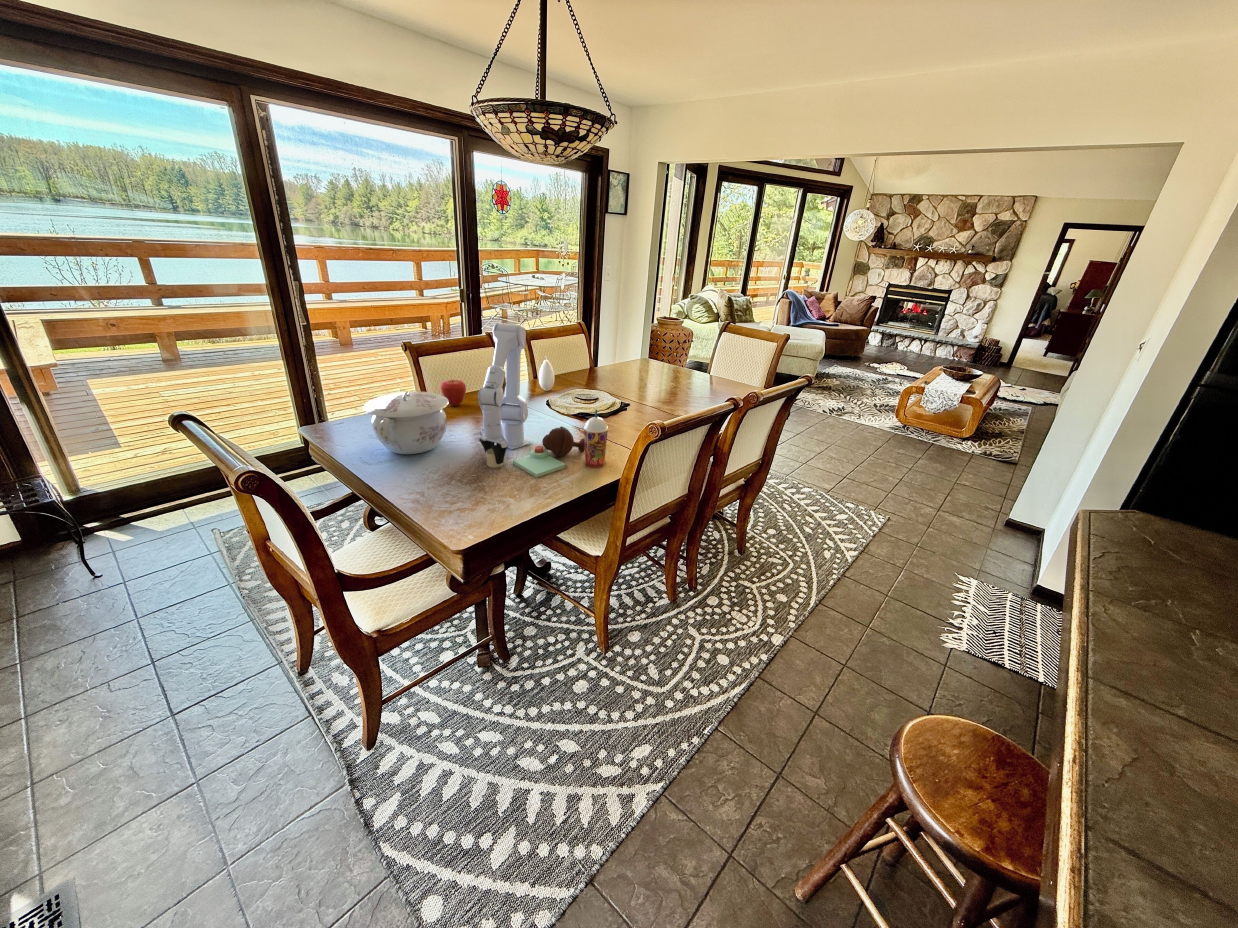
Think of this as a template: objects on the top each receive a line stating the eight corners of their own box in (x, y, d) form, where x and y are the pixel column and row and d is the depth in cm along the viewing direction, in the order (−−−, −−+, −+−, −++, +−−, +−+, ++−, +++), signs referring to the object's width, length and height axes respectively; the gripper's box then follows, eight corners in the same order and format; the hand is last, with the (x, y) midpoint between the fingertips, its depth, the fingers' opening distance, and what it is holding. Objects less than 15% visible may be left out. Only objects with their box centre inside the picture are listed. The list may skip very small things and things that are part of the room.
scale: (511, 463, 166) (511, 455, 165) (541, 453, 174) (541, 446, 173) (536, 477, 157) (536, 469, 156) (566, 467, 165) (566, 459, 164)
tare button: (533, 451, 169) (533, 447, 168) (540, 449, 171) (540, 445, 170) (538, 454, 167) (538, 449, 167) (545, 452, 169) (545, 447, 168)
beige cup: (483, 464, 164) (482, 450, 162) (498, 459, 168) (497, 446, 166) (492, 469, 161) (491, 456, 159) (506, 465, 164) (505, 451, 162)
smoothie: (597, 471, 163) (599, 415, 155) (578, 464, 167) (578, 410, 159) (611, 462, 170) (613, 409, 161) (591, 456, 174) (593, 404, 165)
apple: (463, 409, 213) (460, 383, 207) (439, 408, 213) (435, 381, 207) (470, 401, 223) (468, 376, 217) (447, 400, 223) (444, 375, 217)
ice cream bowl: (583, 464, 173) (544, 459, 166) (573, 452, 182) (536, 446, 175) (592, 438, 170) (552, 430, 162) (581, 427, 179) (544, 419, 171)
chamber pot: (431, 427, 192) (425, 377, 183) (467, 448, 175) (462, 394, 166) (358, 445, 173) (346, 389, 164) (390, 471, 157) (379, 410, 148)
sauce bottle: (537, 391, 241) (536, 356, 234) (541, 387, 248) (541, 352, 241) (552, 393, 240) (551, 357, 233) (556, 389, 247) (556, 354, 239)
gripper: (470, 419, 160) (473, 456, 166) (493, 432, 151) (496, 470, 157) (488, 415, 164) (491, 451, 170) (512, 427, 155) (514, 465, 161)
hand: (494, 460), depth 164 cm, fingers closed on beige cup, 5 cm apart
